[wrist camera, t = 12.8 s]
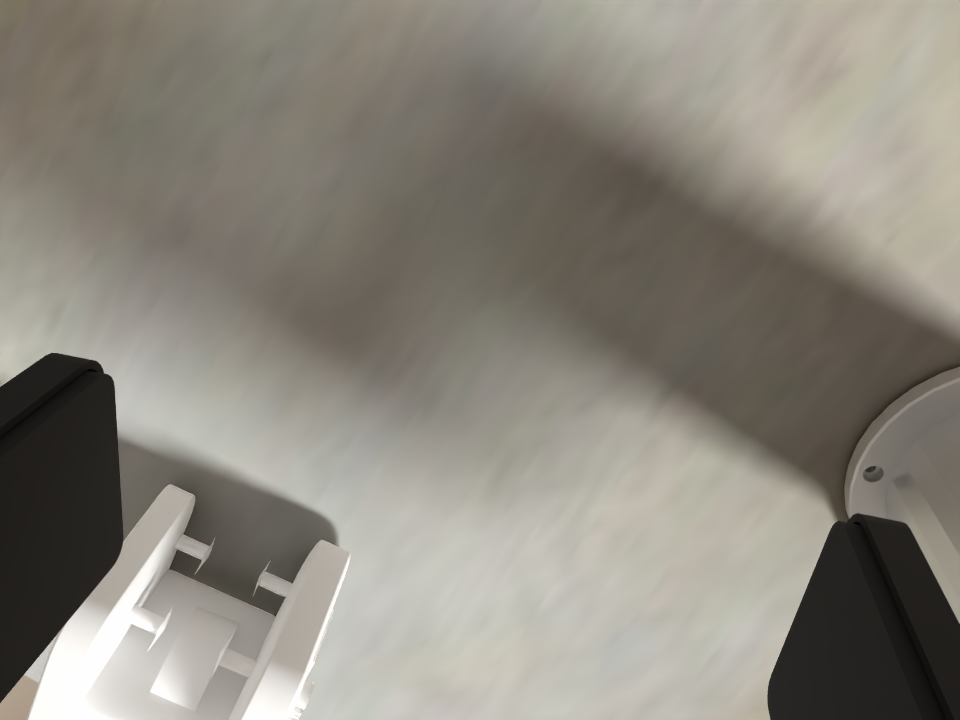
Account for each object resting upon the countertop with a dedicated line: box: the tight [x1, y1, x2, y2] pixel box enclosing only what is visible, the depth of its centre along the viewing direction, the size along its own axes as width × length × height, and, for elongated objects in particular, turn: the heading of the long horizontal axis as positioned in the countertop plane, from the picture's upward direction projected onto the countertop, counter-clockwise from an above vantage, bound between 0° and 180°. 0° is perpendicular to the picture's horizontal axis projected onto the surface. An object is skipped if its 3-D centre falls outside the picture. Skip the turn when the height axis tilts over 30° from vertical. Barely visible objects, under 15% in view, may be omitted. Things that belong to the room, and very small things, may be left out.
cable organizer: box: [27, 484, 350, 720], centre depth 42 cm, size 15×11×12 cm
